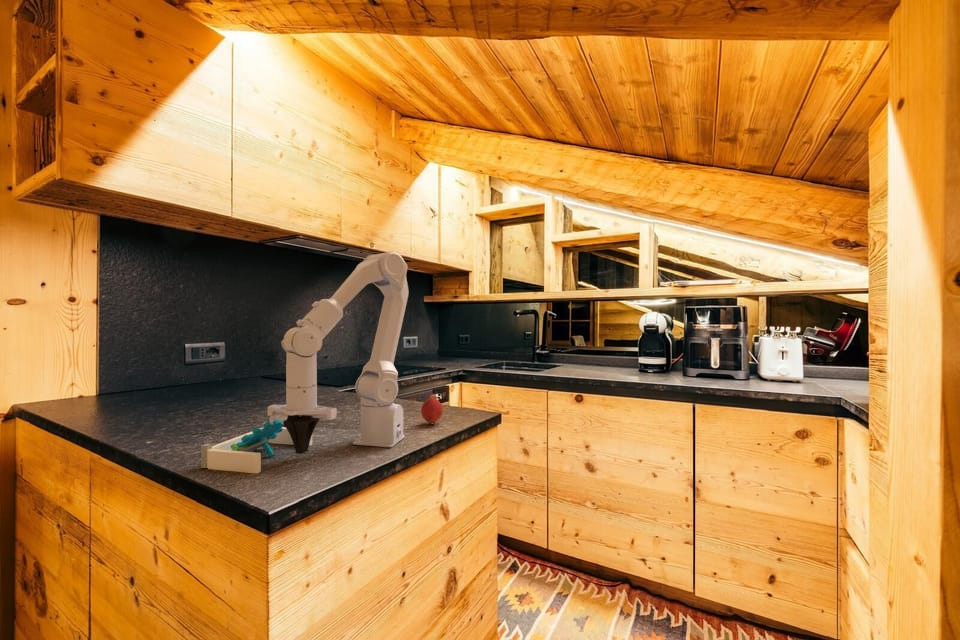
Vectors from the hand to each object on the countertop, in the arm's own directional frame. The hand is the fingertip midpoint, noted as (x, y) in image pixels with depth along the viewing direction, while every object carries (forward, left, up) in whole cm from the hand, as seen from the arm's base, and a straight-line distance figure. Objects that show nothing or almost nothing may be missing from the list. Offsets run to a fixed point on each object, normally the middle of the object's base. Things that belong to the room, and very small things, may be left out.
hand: (301, 452), depth 82 cm
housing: (+10, 0, -1) cm, 10 cm away
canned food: (+15, -17, -2) cm, 23 cm away
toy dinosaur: (+10, 0, -2) cm, 10 cm away
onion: (-18, -31, -2) cm, 36 cm away
